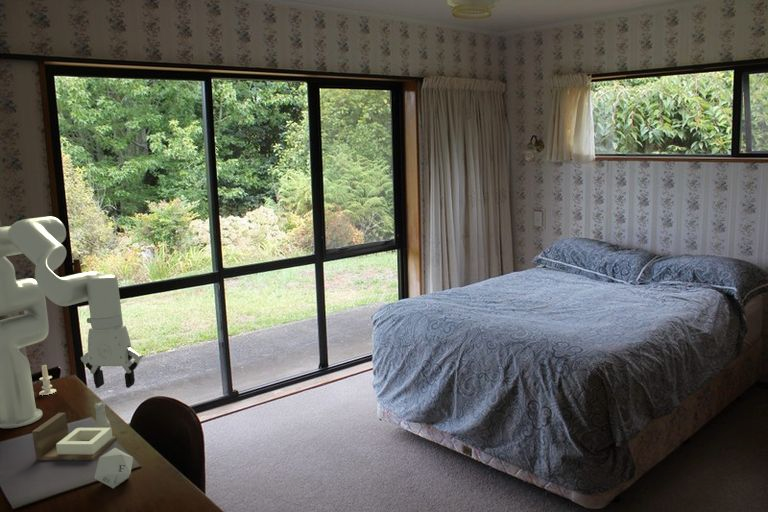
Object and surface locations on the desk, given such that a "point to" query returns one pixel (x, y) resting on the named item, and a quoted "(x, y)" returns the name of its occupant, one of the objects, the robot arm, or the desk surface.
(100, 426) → the rook chess piece
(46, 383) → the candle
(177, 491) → the desk surface
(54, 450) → the wooden bookend
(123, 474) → the die
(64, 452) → the socket block
